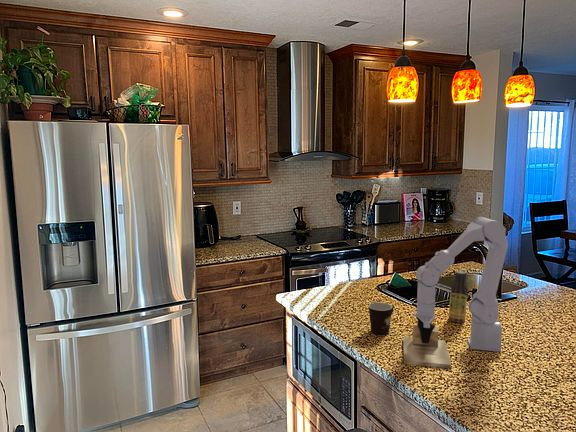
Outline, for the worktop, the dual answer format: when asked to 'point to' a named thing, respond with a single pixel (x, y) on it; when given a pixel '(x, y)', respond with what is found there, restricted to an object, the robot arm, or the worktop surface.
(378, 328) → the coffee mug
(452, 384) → the worktop surface
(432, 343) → the block
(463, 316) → the sauce bottle
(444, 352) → the board
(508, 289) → the worktop surface
